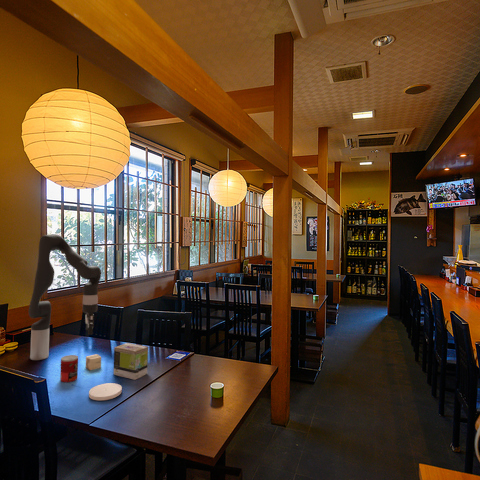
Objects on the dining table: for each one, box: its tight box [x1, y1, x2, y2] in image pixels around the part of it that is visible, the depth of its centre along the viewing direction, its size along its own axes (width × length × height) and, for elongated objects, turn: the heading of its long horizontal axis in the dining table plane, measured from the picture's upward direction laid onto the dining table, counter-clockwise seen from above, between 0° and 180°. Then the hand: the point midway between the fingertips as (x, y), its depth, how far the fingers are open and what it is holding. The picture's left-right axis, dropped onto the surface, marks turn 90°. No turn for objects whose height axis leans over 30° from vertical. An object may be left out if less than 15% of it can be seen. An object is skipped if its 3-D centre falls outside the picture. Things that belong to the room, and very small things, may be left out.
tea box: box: [113, 342, 149, 381], centre depth 173 cm, size 15×10×15 cm
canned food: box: [59, 354, 79, 383], centre depth 164 cm, size 8×8×11 cm
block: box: [85, 353, 102, 371], centre depth 181 cm, size 6×6×6 cm
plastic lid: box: [88, 382, 123, 401], centre depth 149 cm, size 14×14×2 cm
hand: (89, 332), depth 177 cm, fingers open, 8 cm apart
